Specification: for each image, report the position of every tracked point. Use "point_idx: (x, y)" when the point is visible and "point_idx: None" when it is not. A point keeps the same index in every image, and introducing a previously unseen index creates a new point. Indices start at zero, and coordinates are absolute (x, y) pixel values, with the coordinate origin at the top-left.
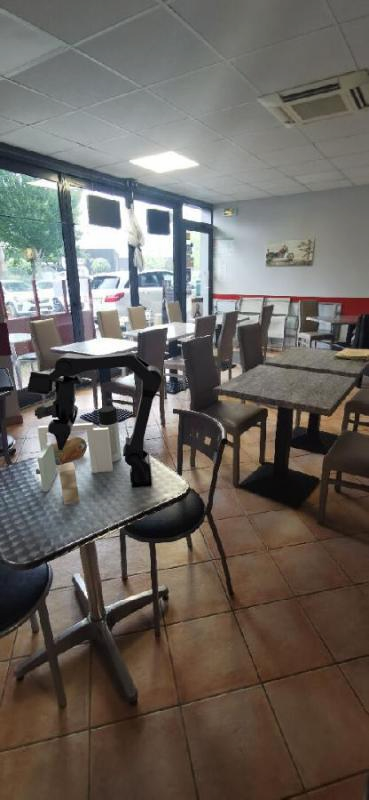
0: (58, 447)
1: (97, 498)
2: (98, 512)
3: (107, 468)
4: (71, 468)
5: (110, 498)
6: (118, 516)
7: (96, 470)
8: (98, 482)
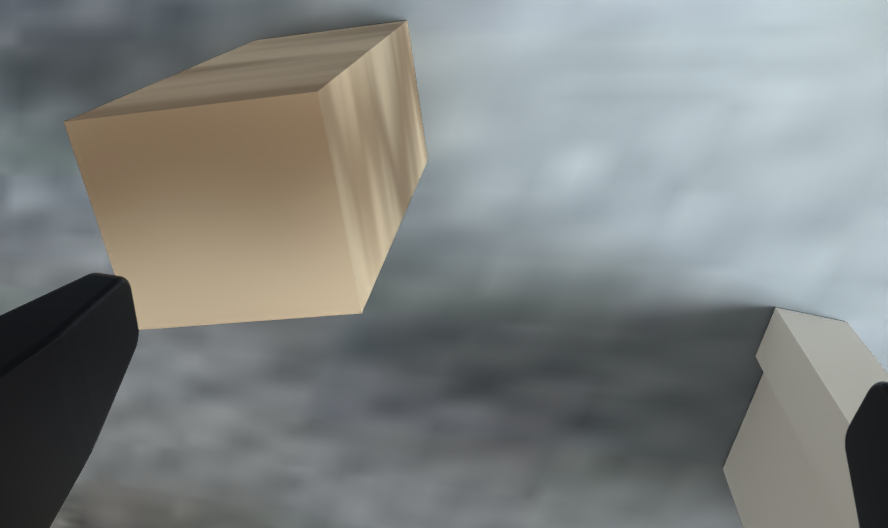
0: (29, 312)
1: None
2: None
3: (743, 455)
4: (165, 289)
5: (270, 402)
6: None
7: (767, 360)
8: (559, 344)
